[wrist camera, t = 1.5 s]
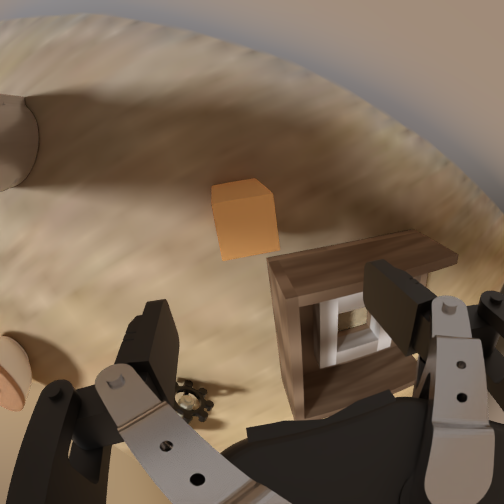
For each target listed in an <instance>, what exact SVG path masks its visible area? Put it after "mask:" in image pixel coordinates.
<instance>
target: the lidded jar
mask: <svg viewBox="0 0 504 504" xmlns="http://www.w3.org/2000/svg"><path fill="white" fill-rule="evenodd" d="M31 383H32V372H31V367H30V364H29V358H28V355H27V353H26V352H25V350H24V349H23V348H22V346H21V345H20V344H19V343H18V342H16V341H15V340H14V339H12V338H10V337H8V336H0V406H2V407H4V408H6V409H8V410H11V411H21V410H22V409H23V407H24V405H25V401H26V399H27V397H28V394H29V391H30V388H31Z"/></svg>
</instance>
